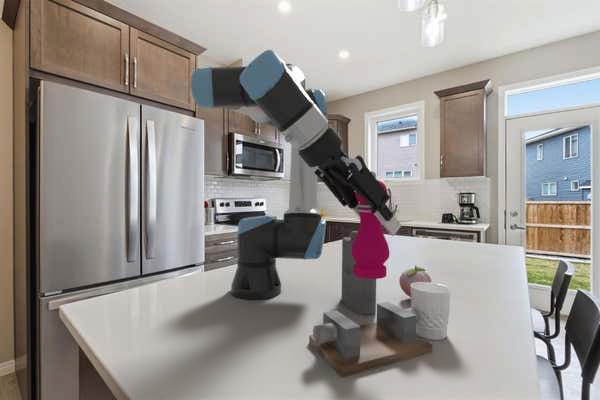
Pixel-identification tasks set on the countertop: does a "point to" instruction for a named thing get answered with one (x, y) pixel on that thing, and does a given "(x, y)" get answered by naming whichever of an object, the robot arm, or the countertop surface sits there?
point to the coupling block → (368, 339)
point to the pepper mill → (369, 243)
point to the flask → (356, 283)
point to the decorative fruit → (412, 278)
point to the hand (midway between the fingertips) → (385, 228)
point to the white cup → (431, 309)
